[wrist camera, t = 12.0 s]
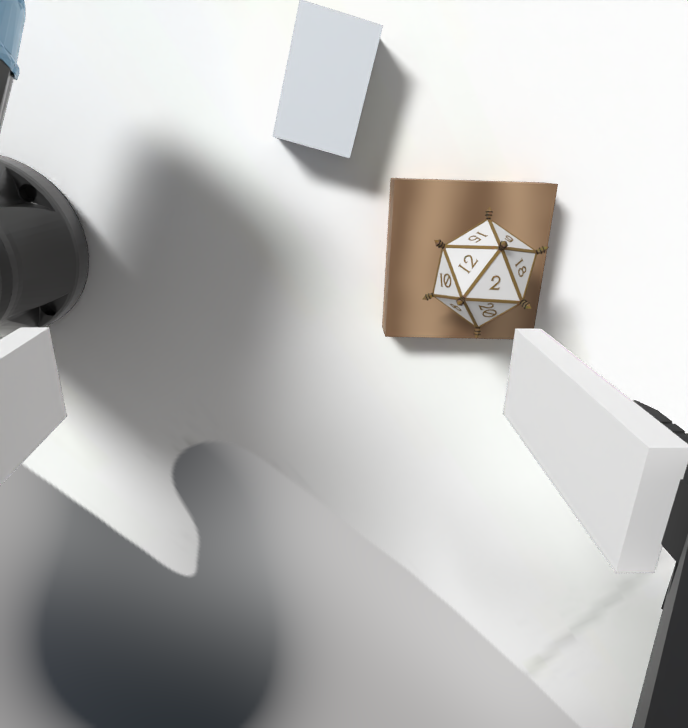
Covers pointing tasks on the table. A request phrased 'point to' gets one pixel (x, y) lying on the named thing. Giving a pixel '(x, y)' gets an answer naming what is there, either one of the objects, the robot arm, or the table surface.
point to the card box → (326, 79)
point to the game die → (484, 273)
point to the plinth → (445, 222)
